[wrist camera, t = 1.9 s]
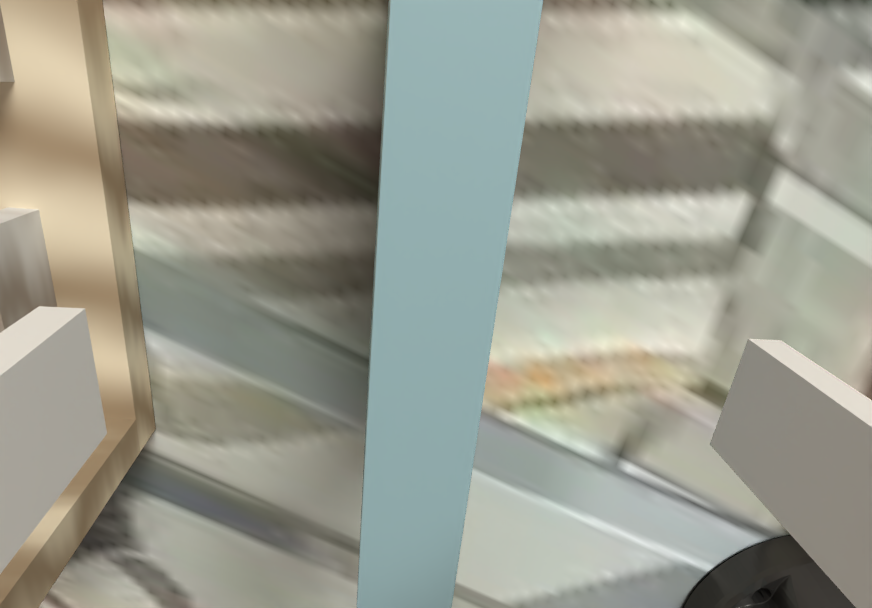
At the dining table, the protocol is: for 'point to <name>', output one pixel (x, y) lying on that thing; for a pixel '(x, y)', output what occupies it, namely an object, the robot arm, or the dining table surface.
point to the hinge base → (69, 249)
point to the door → (437, 279)
